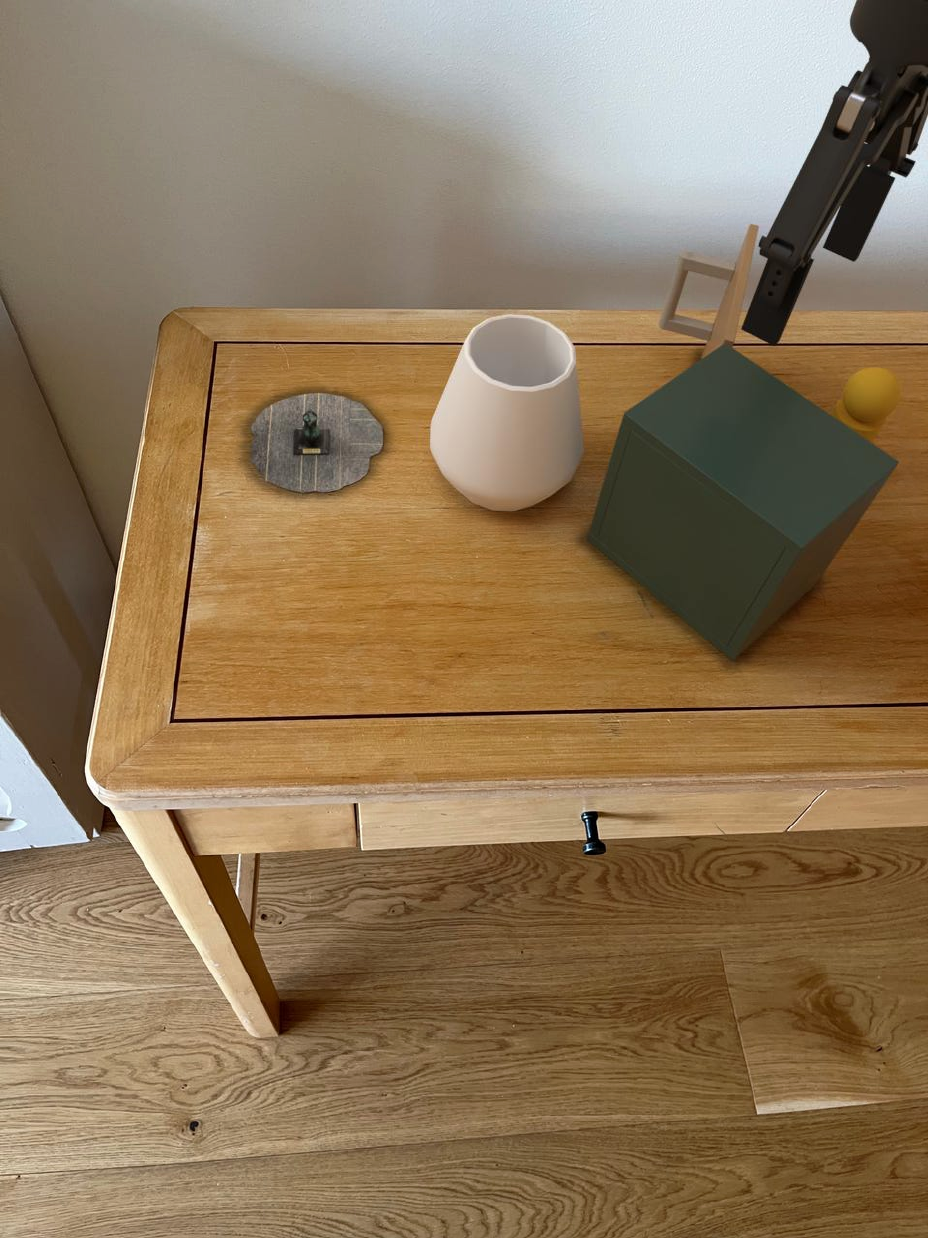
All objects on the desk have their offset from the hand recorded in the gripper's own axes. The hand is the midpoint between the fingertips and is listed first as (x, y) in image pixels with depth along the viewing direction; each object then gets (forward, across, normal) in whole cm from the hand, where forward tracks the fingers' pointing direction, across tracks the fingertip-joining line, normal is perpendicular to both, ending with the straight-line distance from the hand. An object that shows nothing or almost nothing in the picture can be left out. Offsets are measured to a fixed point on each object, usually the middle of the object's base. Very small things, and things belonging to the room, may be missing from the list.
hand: (801, 292), depth 69 cm
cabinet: (+20, +10, +4) cm, 22 cm away
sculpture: (+20, +22, -30) cm, 42 cm away
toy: (+19, -8, +7) cm, 22 cm away
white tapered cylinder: (+20, +14, -16) cm, 28 cm away
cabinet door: (+19, -4, -9) cm, 21 cm away
